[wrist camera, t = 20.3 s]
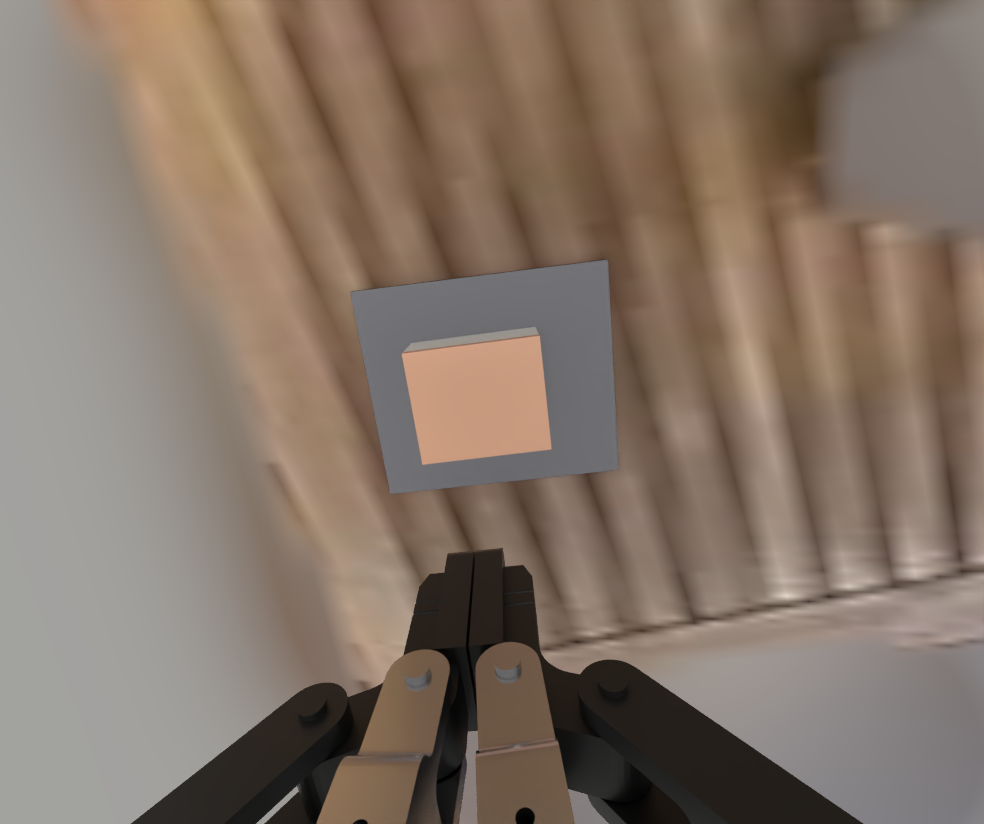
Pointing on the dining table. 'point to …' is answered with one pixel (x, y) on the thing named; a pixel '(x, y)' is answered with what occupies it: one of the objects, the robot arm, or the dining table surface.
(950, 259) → the dining table surface
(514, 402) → the white block copper side
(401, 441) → the mat
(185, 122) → the dining table surface
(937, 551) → the dining table surface
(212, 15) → the dining table surface
